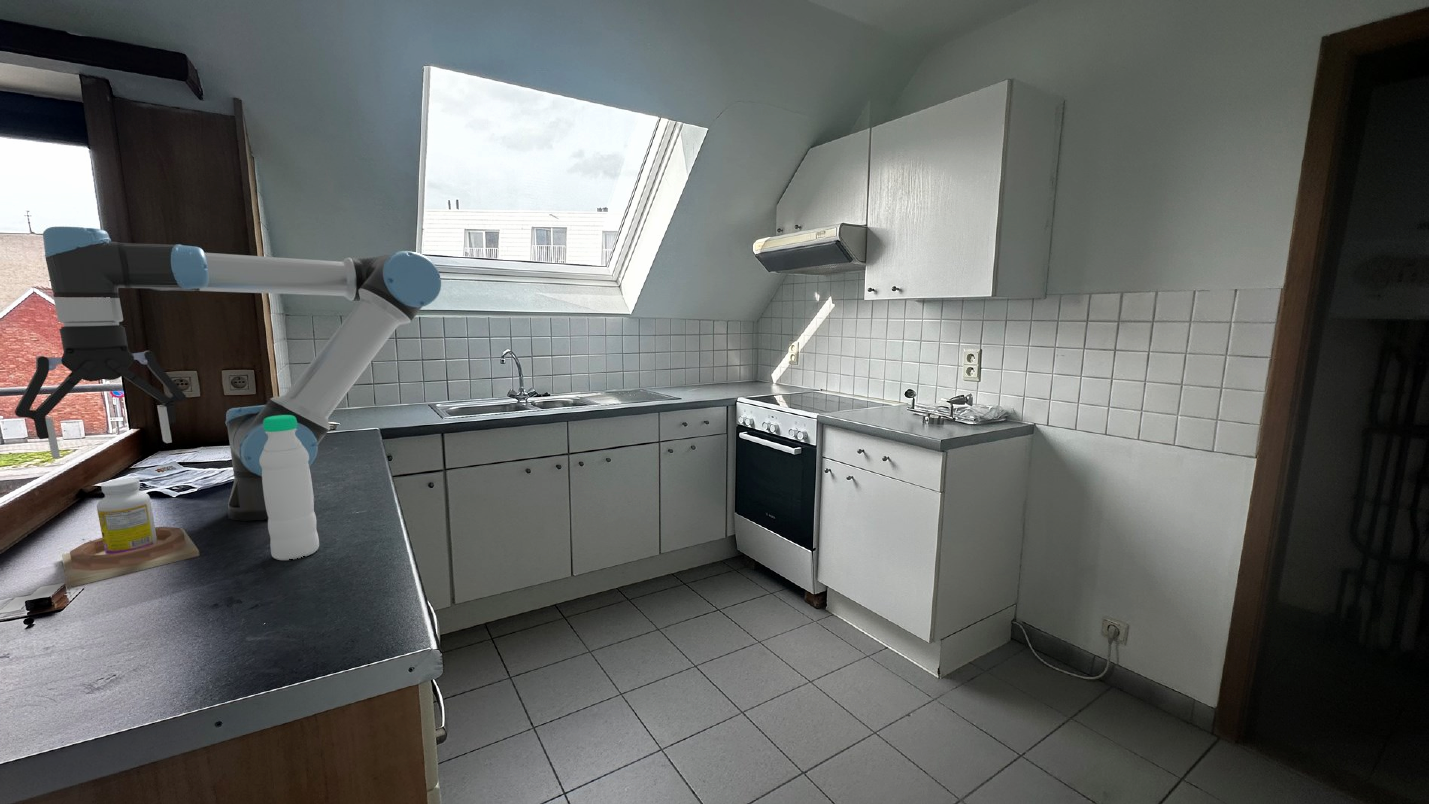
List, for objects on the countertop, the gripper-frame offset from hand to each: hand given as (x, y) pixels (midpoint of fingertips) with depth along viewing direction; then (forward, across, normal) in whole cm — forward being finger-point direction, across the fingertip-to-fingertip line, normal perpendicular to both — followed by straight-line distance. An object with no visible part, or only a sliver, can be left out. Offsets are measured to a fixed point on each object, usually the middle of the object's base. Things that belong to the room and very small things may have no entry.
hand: (114, 449), depth 102 cm
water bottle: (+20, -18, +21) cm, 34 cm away
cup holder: (+20, 0, 0) cm, 20 cm away
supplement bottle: (+19, 0, 0) cm, 19 cm away
